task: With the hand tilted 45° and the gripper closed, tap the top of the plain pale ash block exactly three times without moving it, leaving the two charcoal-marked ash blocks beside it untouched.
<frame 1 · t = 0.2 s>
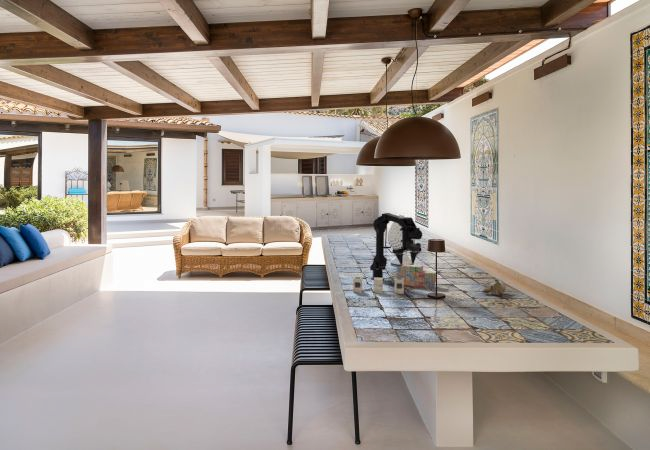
hand: (407, 264, 292), 14 cm above the table, fingers open, 9 cm apart
plain block: (378, 292, 282), on the table
marked block 2: (399, 292, 280), on the table
marked block 1: (357, 291, 283), on the table
ceramic sculpture: (495, 294, 277), on the table
stack of blocks: (418, 286, 299), on the table
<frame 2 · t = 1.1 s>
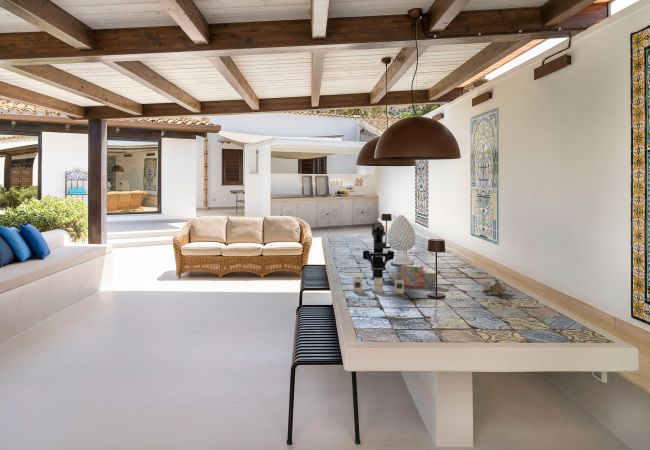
hand: (378, 266, 289), 13 cm above the table, fingers open, 7 cm apart
nothing on the table moved.
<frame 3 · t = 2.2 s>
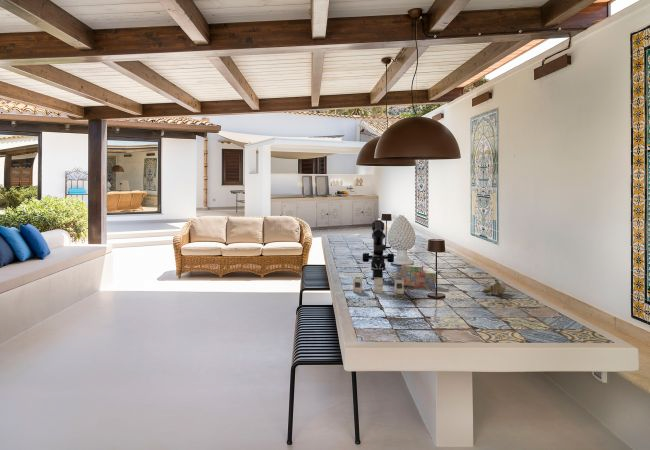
hand: (378, 269, 284), 13 cm above the table, fingers closed
nothing on the table moved.
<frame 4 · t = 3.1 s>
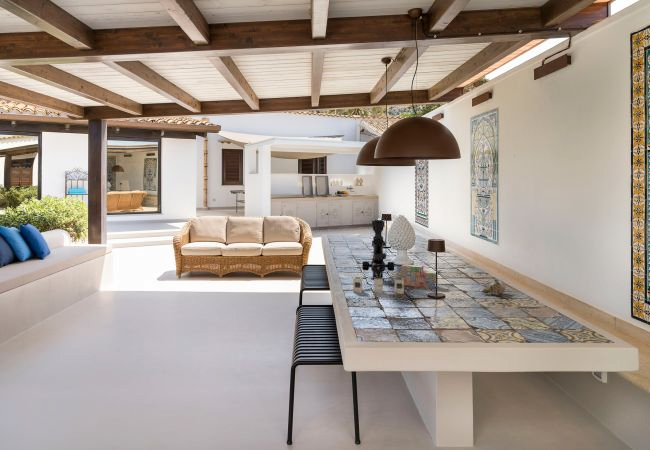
hand: (378, 278, 281), 8 cm above the table, fingers closed, pressing on plain block
plain block: (378, 292, 282), on the table, touching gripper
everything else where it was.
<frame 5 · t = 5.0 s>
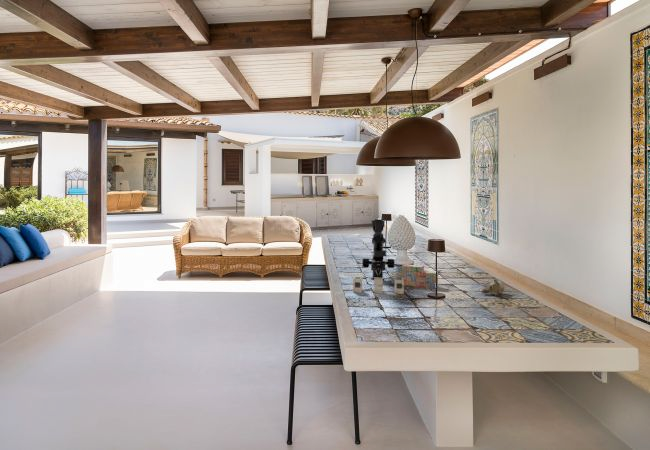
hand: (378, 275, 280), 10 cm above the table, fingers closed
plain block: (378, 292, 282), on the table
everything else where it was.
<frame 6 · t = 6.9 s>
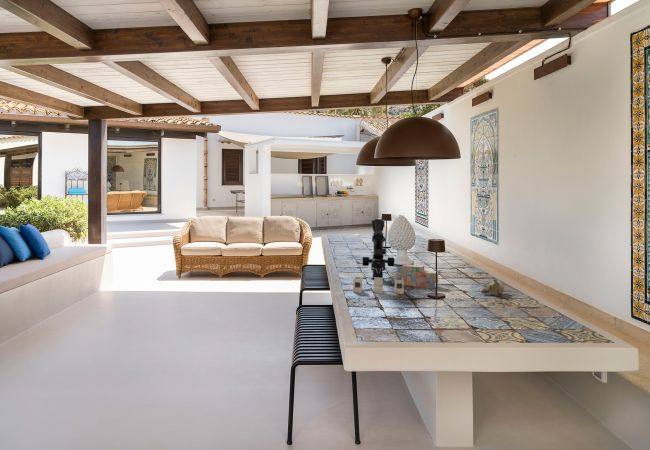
hand: (378, 273, 281), 11 cm above the table, fingers closed
nothing on the table moved.
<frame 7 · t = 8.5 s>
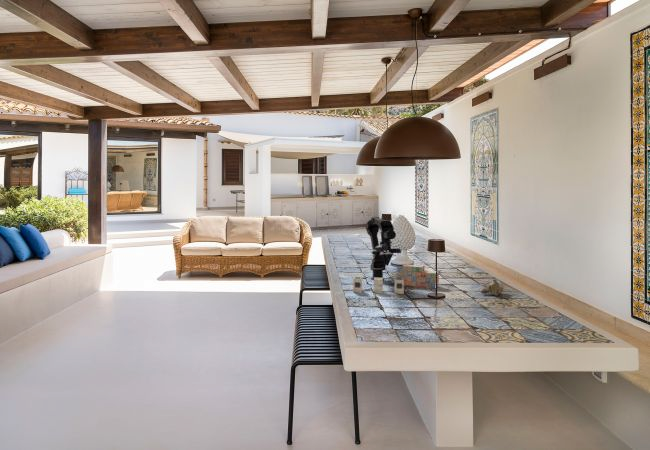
hand: (387, 265, 299), 12 cm above the table, fingers closed
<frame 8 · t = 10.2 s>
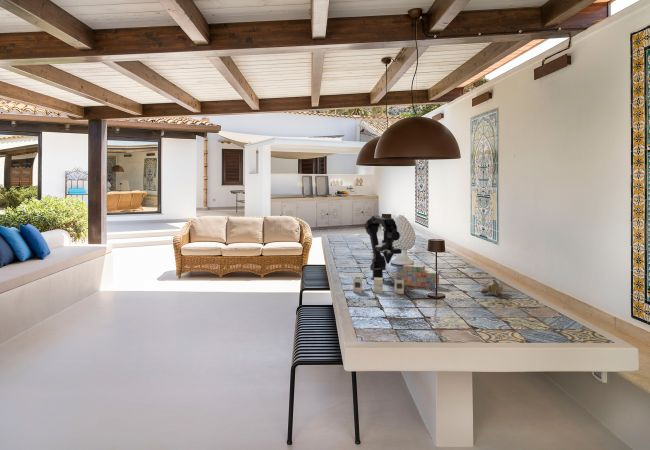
hand: (387, 263, 302), 13 cm above the table, fingers closed
at the end: plain block moved 0.1 cm from its start; plain block tilted 0°; plain block touching table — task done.
